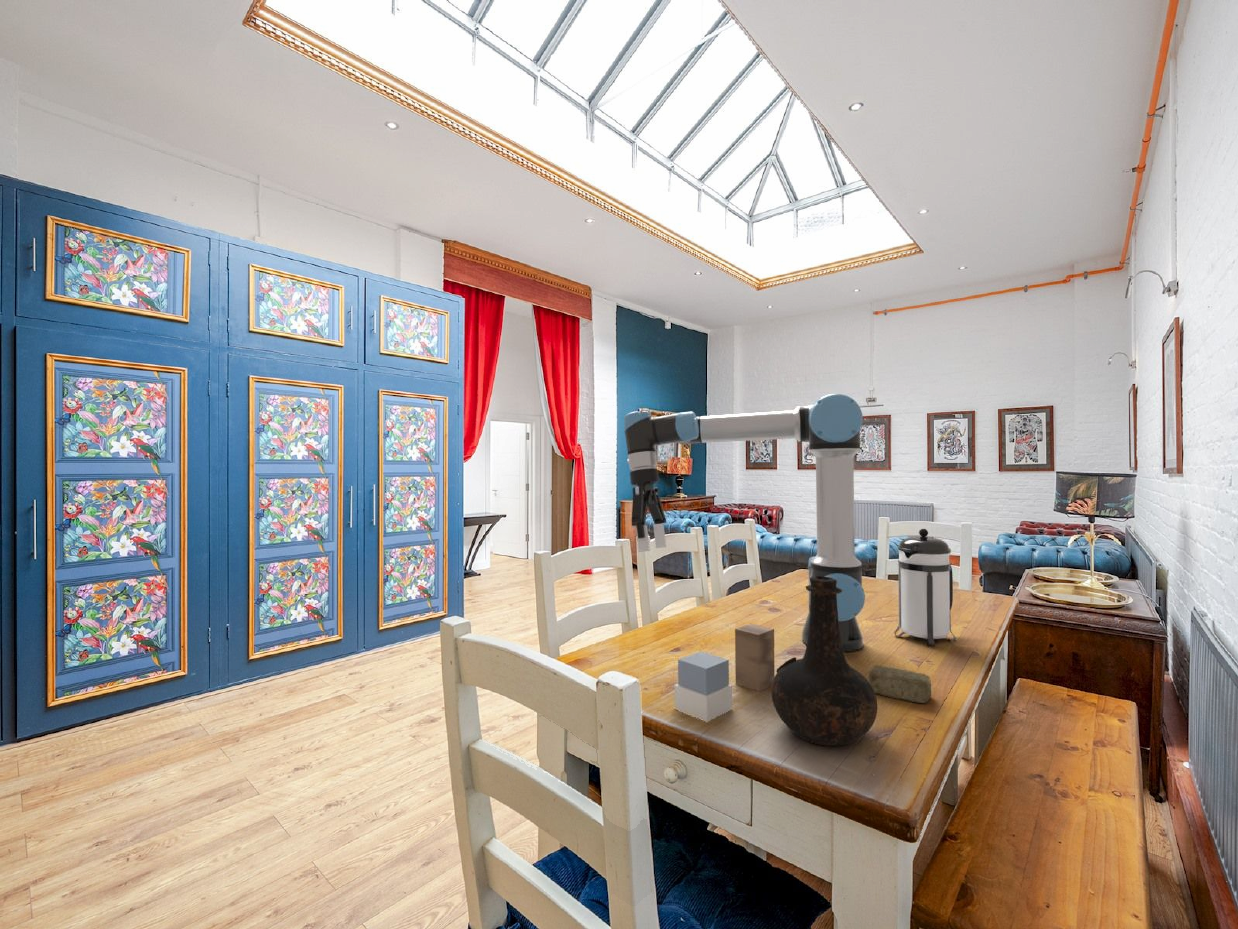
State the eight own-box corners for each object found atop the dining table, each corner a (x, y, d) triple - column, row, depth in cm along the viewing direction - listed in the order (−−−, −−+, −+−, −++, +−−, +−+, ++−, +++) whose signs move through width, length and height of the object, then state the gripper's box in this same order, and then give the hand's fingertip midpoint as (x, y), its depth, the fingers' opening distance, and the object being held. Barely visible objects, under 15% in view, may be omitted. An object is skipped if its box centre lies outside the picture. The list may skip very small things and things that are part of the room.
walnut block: (751, 676, 128) (750, 623, 128) (774, 683, 123) (774, 629, 123) (735, 683, 124) (735, 629, 124) (759, 691, 119) (758, 634, 119)
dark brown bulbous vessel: (802, 703, 113) (801, 564, 113) (894, 734, 100) (893, 576, 100) (751, 733, 101) (750, 577, 101) (849, 772, 88) (848, 593, 88)
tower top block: (700, 675, 116) (700, 651, 116) (728, 685, 110) (728, 659, 110) (678, 685, 111) (678, 659, 111) (706, 695, 106) (706, 668, 106)
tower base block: (700, 698, 116) (699, 674, 116) (732, 710, 111) (731, 685, 111) (674, 710, 111) (674, 685, 111) (706, 723, 105) (706, 697, 105)
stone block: (928, 707, 111) (928, 682, 111) (866, 694, 118) (866, 670, 118) (932, 697, 116) (932, 673, 116) (872, 685, 123) (872, 662, 123)
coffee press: (966, 650, 144) (965, 533, 144) (897, 644, 149) (896, 530, 149) (952, 631, 160) (951, 525, 160) (890, 626, 166) (889, 524, 166)
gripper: (646, 474, 163) (654, 547, 161) (612, 468, 140) (622, 554, 138) (670, 470, 160) (680, 545, 158) (640, 464, 137) (650, 551, 135)
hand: (653, 549), depth 148 cm, fingers open, 13 cm apart
